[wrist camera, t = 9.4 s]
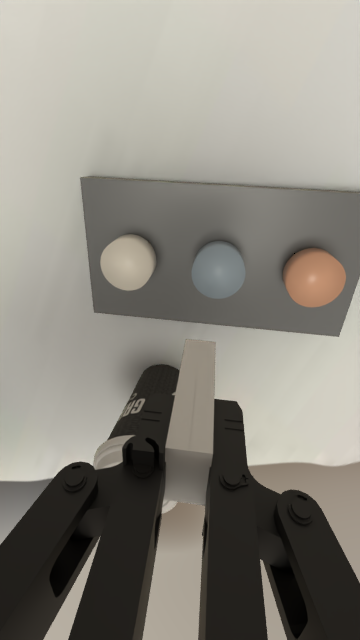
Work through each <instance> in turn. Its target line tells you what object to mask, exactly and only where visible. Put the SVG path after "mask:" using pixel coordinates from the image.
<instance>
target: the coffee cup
mask: <svg viewBox="0 0 360 640" xmlns="http://www.w3.org/2000/svg"><path fill="white" fill-rule="evenodd" d="M179 373H180V371H179V370H178V369H176V368H174V367H172V366H169V365H154V366H151V367H149V368H148V369H146V370H145V371H144V372H143V374H142V376H141V378H140V380H139V381H138V383H137V385H136V387H135V389H134V391H133V393H132V395H131V397H130V399H129V401H128V402H127V404H126V406H125V408H124V410H123V412H122V414H121V416H120V418H119V419H118V421H117V423H116V425H115V427H114V429H113V431H112V433H111V434H110V436H109V438H108V440H107V441H106V442H104V443H103V444H102V445H101V446H100V447H99V448H98V449H97V451H96V453H95V456H94V464H93V467H94V468H95V470H97V469H103V468H108V467H112V466H116V465H118V464H120V463H122V462H123V457H122V447H123V445H124V444H125V442H126V441H127V440H128V439H130V438H131V437H133V436H136V435H137V431H138V428H139V425H140V421H141V418H142V415H143V412H144V408H145V405H146V402H147V400H148V399H149V398H150V397H151V396H152V395H153V393H160V394H169V395H175V394H176V388H177V383H178V378H179ZM176 503H177V502H176V501H169V500H164V499H163V505H162V514H163V513H165V512H167V511H169V510H171V509H172V508H173V507H174V506H175V505H176Z"/></svg>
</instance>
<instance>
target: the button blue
mask: <svg viewBox="0 0 360 640" xmlns="http://www.w3.org/2000/svg"><path fill="white" fill-rule="evenodd" d="M192 280H193V283H194V285H195V287H196V288H197V290H198V291H199V292H200V293H202V294H203V295H205V296H207V297H210V298H214V299H222V298H226V297H229V296H231V295H233V294H235V293H236V292H237V291H238V290H239V289H240V288H241V286H242V284H243V282H244V280H245V266H244V261H243V257H242V254H241V253H240V251H239V250H238V249H237V248H236V247H235V246H234V245H232V244H230V243H228V242H225V241H214V242H210V243H208V244H206V245H205V246H203V247H202V248H201V249H200V250H199V251H198V253H197V254H196V257H195V260H194V263H193V267H192Z"/></svg>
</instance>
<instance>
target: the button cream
mask: <svg viewBox="0 0 360 640" xmlns="http://www.w3.org/2000/svg"><path fill="white" fill-rule="evenodd" d="M100 265H101V270H102V272H103V275H104V276H105V278H106V279H107V280H108V282H109V283H111V284H112V285H113V286H115V287H117V288H119V289H122V290H127V291H131V290H136V289H139V288H141V287H142V286H144V285H145V284H146V283H147V281H148V280H149V278H150V276H151V275H152V273H153V271H154V270H155V267H156V254H155V251H154V249H153V247H152V246H151V245H150V243H149V242H148V241H147V240H145V239H144V238H142V237H140V236H138V235H133V234H127V235H123V236H120V237H119V238H117V239H116V240H114V241H113V242H112V243H110V244H109V245H108V246H107V247H106V248H105V249H104V251H103V253H102V255H101V260H100Z"/></svg>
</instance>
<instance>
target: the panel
mask: <svg viewBox="0 0 360 640" xmlns="http://www.w3.org/2000/svg"><path fill="white" fill-rule="evenodd" d="M80 180H81V190H82V199H83V209H84V219H85V229H86V238H87V248H88V258H89V268H90V278H91V287H92V297H93V307H94V312H95V313H105V314H115V315H125V316H135V317H145V318H155V319H165V320H175V321H185V322H195V323H205V324H215V325H225V326H236V327H246V328H256V329H266V330H276V331H286V332H296V333H306V334H316V335H326V336H336V337H339V335H340V332H341V329H342V326H343V323H344V320H345V317H346V314H347V312H348V309H349V306H350V303H351V300H352V297H353V294H354V291H355V288H356V285H357V283H358V280H359V277H360V192H349V191H331V190H314V189H297V188H279V187H262V186H244V185H227V184H210V183H192V182H175V181H158V180H140V179H123V178H105V177H81V178H80ZM127 234H133V235H138V236H140V237H142V238H144V239H145V240H147V241H150V243H151V246H152V247H153V249H154V251H155V254H156V267H155V270H154V271H153V273H152V275H151V276H150V278H149V280H148V281H147V283H146V284H145V285H144V286H142V287H141V288H139V289H136V290H131V291H127V290H122V289H119V288H117V287H115V286H113V285H112V284H111V283H109V282H108V280H107V279H106V278H105V276H104V275H103V272H102V270H101V265H100V260H101V255H102V253H103V251H104V249H105V248H106V247H107V246H108V245H109V244H110V243H112V242H113V241H114V240H116V239H117V238H119V237H120V236H123V235H127ZM214 241H225V242H228V243H230V244H232V245H234V246H235V247H236V248H237V249H238V250H239V251H240V253H241V254H242V257H243V261H244V266H245V280H244V282H243V284H242V286H241V288H240V289H239V290H238V291H237V292H236V293H235V294H233V295H231V296H229V297H226V298H222V299H214V298H210V297H207V296H205V295H203V294H202V293H200V292H199V291H198V290H197V288H196V287H195V285H194V283H193V280H192V267H193V263H194V260H195V257H196V254H197V253H198V251H199V250H200V249H201V248H202V247H203V246H205V245H206V244H208V243H210V242H214ZM308 248H319V249H323V250H325V251H327V252H328V253H330V254H331V255H332V256H333V257H334V258H335V259H336V260H338V261H339V262H340V263H341V265H342V266H343V268H344V270H345V273H346V282H345V285H344V288H343V290H342V292H341V293H340V294H339V295H338V296H337V298H335V299H334V300H333V301H331V302H330V303H328V304H326V305H323V306H320V307H305V306H302V305H299V304H298V303H296V302H295V301H294V300H293V299H292V298H291V297H290V295H289V293H288V291H287V289H286V287H285V285H284V282H283V270H284V267H285V265H286V263H287V261H288V260H289V259H290V258H291V257H292V256H293V252H295V253H297V252H299V251H301V250H304V249H308Z"/></svg>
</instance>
